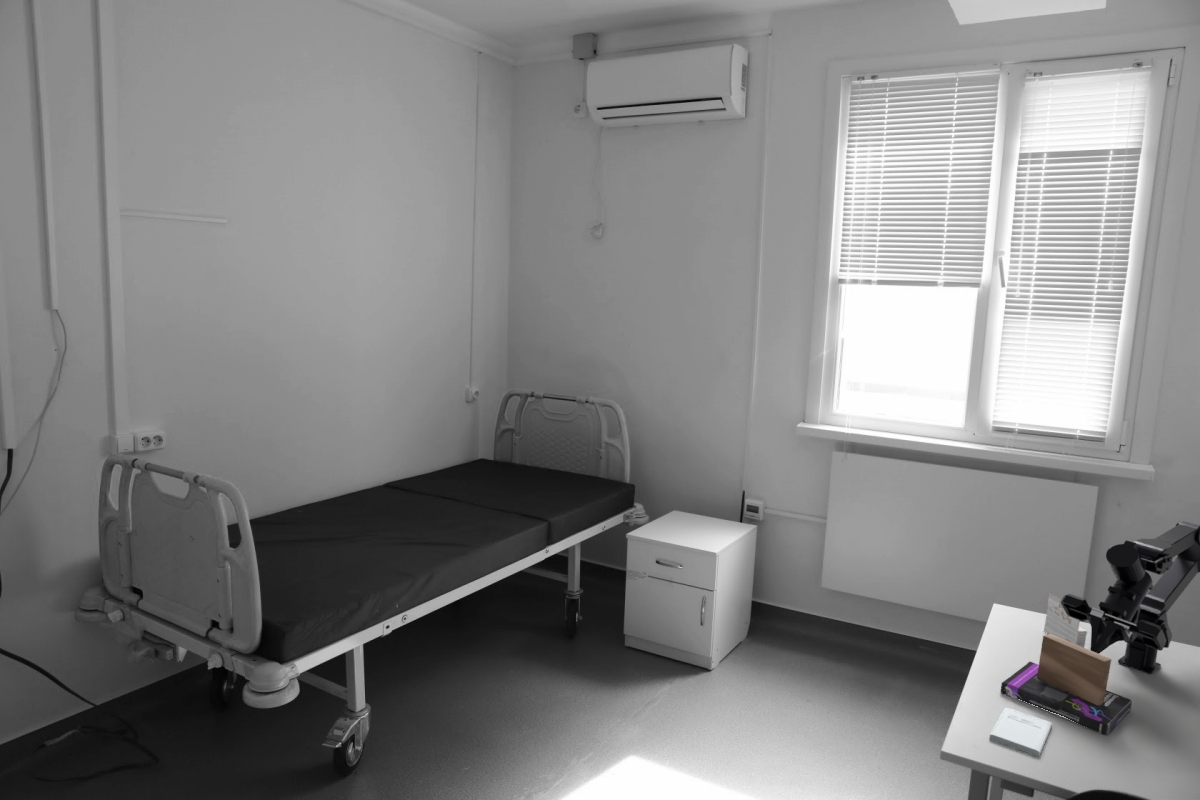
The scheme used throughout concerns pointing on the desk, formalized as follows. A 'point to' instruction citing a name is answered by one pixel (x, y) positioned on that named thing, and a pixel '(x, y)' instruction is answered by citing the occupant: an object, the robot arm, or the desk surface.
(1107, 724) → the box
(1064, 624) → the ink cartridge box
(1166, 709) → the desk surface
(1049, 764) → the desk surface
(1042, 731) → the external hard drive
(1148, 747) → the desk surface
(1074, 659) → the walnut board
